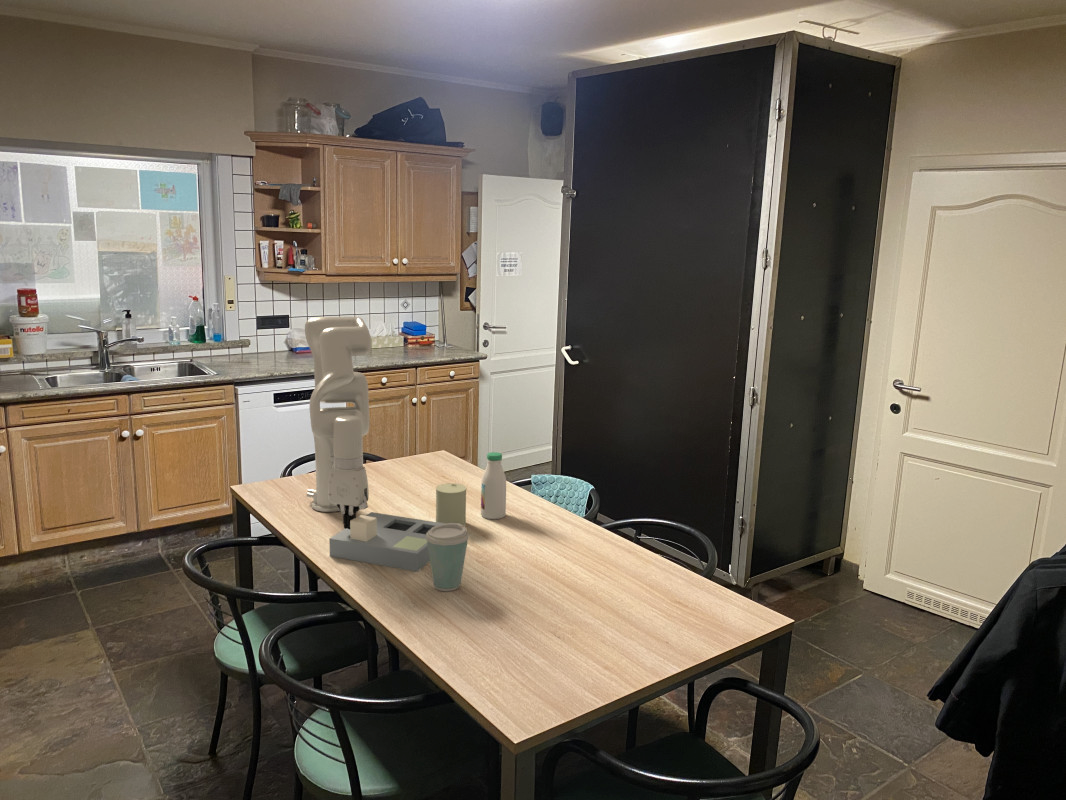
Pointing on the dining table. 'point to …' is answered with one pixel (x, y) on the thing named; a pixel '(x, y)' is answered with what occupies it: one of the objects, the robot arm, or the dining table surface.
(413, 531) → the box
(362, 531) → the block
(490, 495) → the milk bottle
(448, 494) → the can
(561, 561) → the dining table surface
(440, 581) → the disposable coffee cup
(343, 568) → the dining table surface
